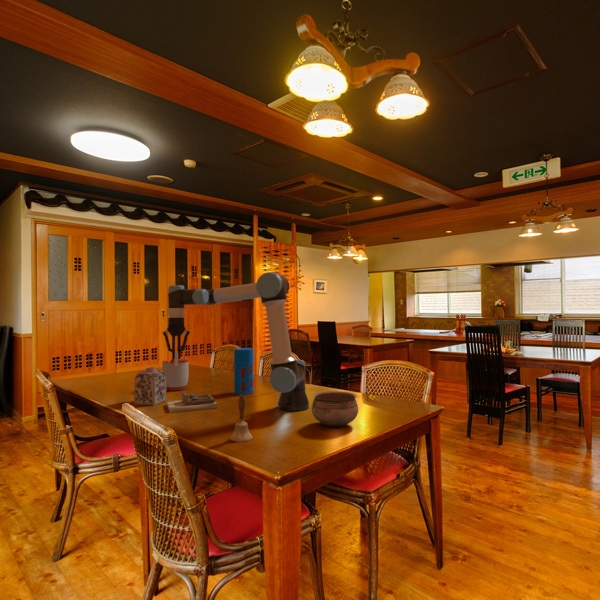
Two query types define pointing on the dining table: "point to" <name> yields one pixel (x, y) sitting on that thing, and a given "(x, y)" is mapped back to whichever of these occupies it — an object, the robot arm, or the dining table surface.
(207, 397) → the walnut panel
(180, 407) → the keyhole board
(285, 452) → the dining table surface
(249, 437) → the hand bell
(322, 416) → the cooking pot
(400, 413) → the dining table surface
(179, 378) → the citrus juicer
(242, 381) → the thermos
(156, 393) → the decorative jar
